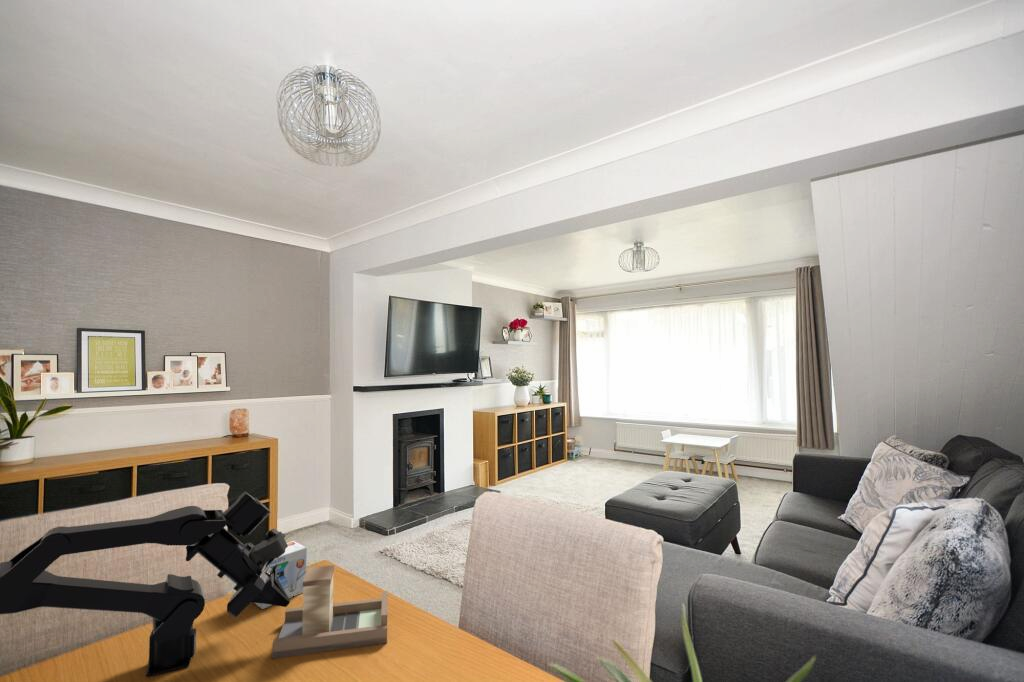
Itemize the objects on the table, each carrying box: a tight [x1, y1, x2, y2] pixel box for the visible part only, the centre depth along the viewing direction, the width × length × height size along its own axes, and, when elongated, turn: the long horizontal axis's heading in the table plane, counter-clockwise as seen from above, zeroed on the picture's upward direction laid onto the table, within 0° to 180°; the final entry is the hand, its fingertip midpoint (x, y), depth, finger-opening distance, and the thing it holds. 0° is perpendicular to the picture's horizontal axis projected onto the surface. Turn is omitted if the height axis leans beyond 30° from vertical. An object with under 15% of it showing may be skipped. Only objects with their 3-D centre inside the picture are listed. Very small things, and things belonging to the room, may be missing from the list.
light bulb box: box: [254, 540, 308, 610], centre depth 113 cm, size 11×7×11 cm, turn 143°
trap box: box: [272, 590, 389, 659], centre depth 98 cm, size 21×12×5 cm, turn 104°
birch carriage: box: [302, 565, 335, 635], centre depth 97 cm, size 5×6×11 cm
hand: (288, 604), depth 96 cm, fingers closed
